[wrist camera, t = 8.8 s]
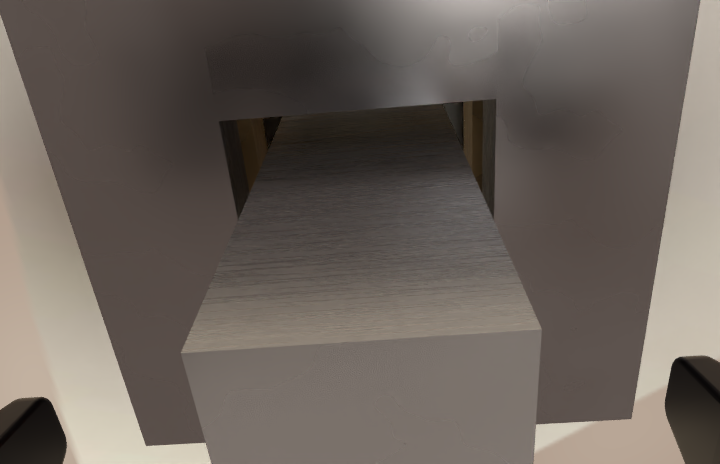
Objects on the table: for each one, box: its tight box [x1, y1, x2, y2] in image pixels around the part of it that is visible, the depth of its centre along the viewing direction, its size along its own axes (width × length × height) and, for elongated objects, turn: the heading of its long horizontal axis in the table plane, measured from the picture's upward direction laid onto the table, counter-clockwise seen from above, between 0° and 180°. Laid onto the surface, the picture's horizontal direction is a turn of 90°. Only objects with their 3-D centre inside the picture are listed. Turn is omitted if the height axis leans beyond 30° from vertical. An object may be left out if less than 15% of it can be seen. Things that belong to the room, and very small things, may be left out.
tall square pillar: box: [181, 103, 542, 464], centre depth 12 cm, size 4×4×11 cm
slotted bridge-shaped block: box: [0, 0, 700, 446], centre depth 15 cm, size 13×12×4 cm
